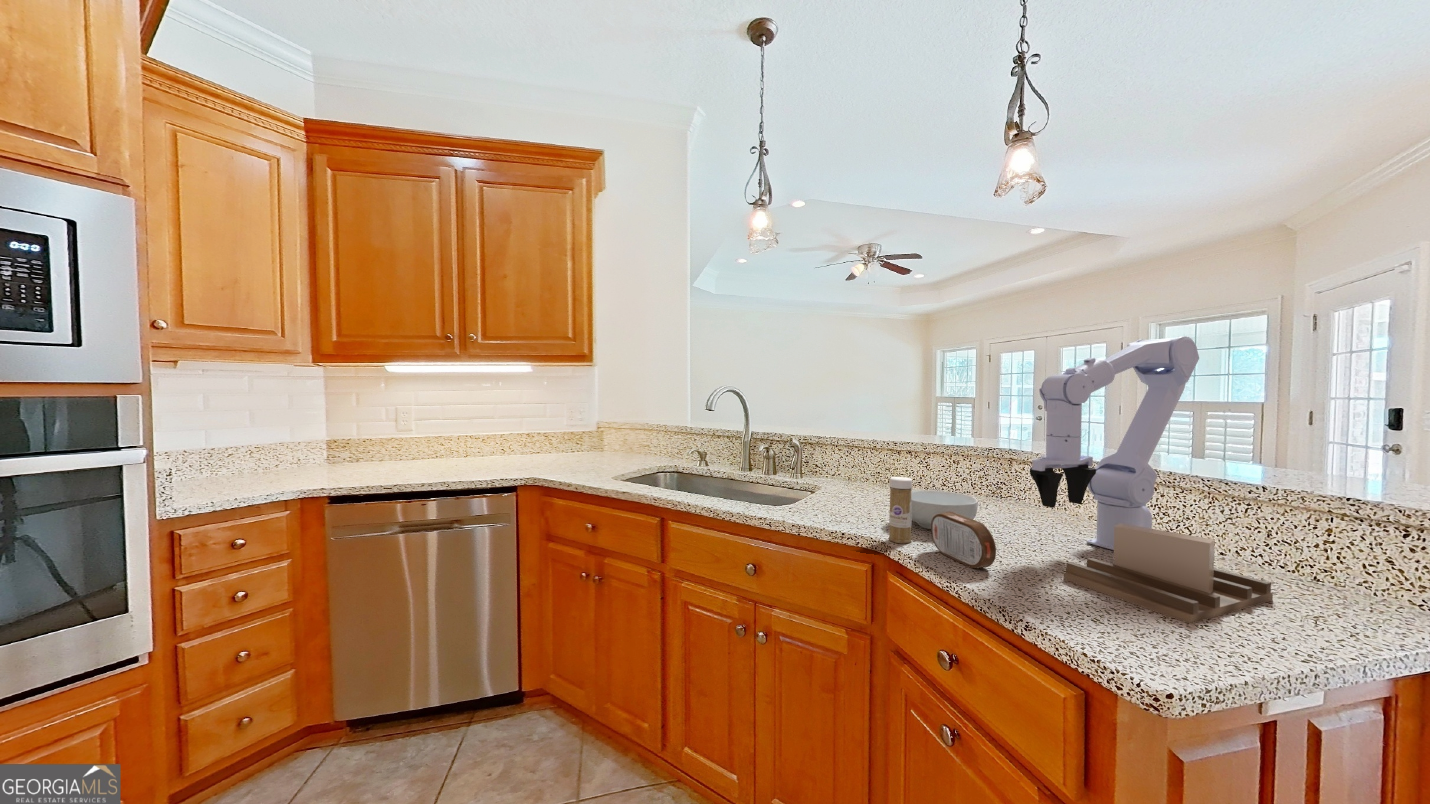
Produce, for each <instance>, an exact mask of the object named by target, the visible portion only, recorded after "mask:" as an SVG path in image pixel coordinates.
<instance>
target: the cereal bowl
mask: <svg viewBox="0 0 1430 804" xmlns="http://www.w3.org/2000/svg"><path fill="white" fill-rule="evenodd" d="M978 503H979V501H978V499H977V498H976V497H974V496H971V495H968V494H964V493H959V492H952V491H945V490H928V489H927V490H924V489H921V490H917V489H916V490H911V521H913V522H916V523H917V524H918V525H919V526H920V527H922V528H924V529H928V530H931V521H932V519H933V517H934V516H935V515H937V514H940V513H945V512H949V511H951V512H954V513H957V514H959V515H962V516H965V517H967V518H970V519H973V520H975V518H976V516H977V512H978V506H979V505H978Z"/></svg>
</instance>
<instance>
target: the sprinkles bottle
mask: <svg viewBox="0 0 1430 804" xmlns="http://www.w3.org/2000/svg"><path fill="white" fill-rule="evenodd" d="M888 484H889V490H890V491H889V493H890V494H889V511H888V512H889V518H888V519H889V520H888V521H889V536H888V539H889V541H891V542H892V543H896V544H910V543H911V542H912V520H911V491H913V490H912V488H913V479H912V478H910V477H908V476H907V477H906V476H892V477H889V483H888Z"/></svg>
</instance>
